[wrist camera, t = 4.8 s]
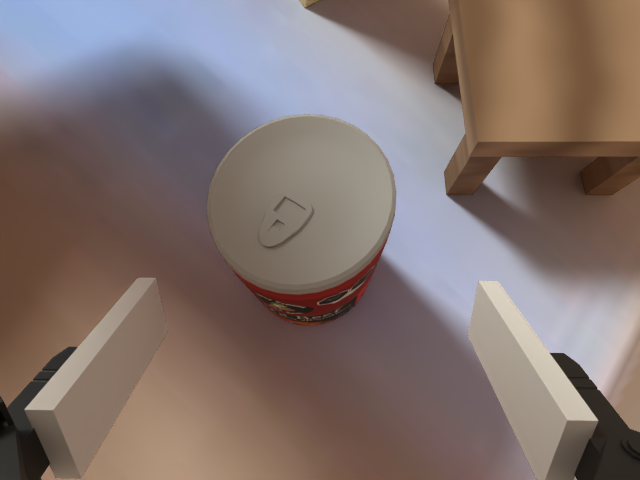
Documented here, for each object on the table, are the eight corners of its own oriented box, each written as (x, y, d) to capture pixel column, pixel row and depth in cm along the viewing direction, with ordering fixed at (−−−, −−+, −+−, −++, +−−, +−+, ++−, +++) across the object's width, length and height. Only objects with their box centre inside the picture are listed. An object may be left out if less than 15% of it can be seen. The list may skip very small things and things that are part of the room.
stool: (442, 198, 28) (478, 141, 21) (428, 62, 31) (455, -22, 25) (617, 198, 27) (709, 141, 21) (581, 60, 31) (649, -25, 25)
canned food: (236, 306, 25) (171, 257, 15) (279, 199, 28) (249, 92, 17) (350, 344, 24) (365, 320, 14) (384, 229, 27) (418, 136, 17)
